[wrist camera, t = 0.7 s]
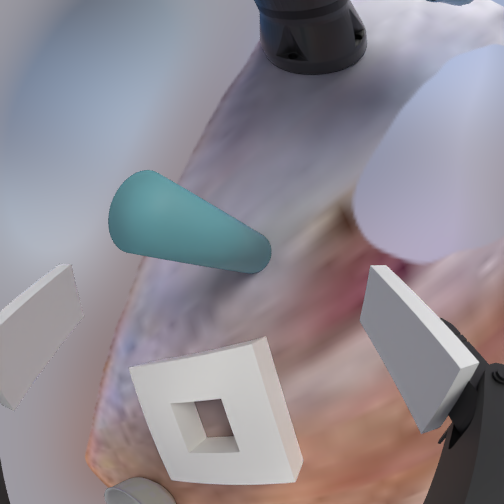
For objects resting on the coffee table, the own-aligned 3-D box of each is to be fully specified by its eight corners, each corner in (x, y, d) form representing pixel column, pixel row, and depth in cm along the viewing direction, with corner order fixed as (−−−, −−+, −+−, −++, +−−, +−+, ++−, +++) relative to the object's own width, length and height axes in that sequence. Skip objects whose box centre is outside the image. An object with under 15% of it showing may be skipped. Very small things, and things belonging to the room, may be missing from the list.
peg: (264, 225, 31) (163, 155, 14) (276, 265, 30) (178, 234, 13) (227, 240, 32) (105, 192, 15) (237, 279, 31) (113, 264, 14)
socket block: (265, 336, 29) (251, 343, 25) (303, 460, 26) (295, 482, 21) (151, 361, 34) (128, 367, 29) (189, 465, 30) (171, 480, 26)
